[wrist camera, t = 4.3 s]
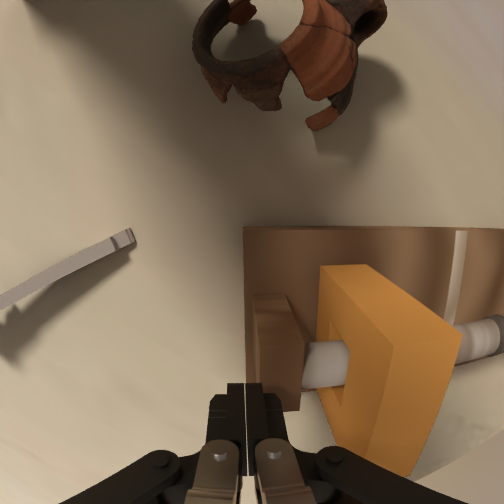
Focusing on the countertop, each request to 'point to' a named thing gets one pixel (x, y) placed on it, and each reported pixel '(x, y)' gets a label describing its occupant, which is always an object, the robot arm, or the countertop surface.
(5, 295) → the caliper
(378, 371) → the collar
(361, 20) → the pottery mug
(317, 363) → the pipe stand
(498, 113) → the countertop surface
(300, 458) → the robot arm
